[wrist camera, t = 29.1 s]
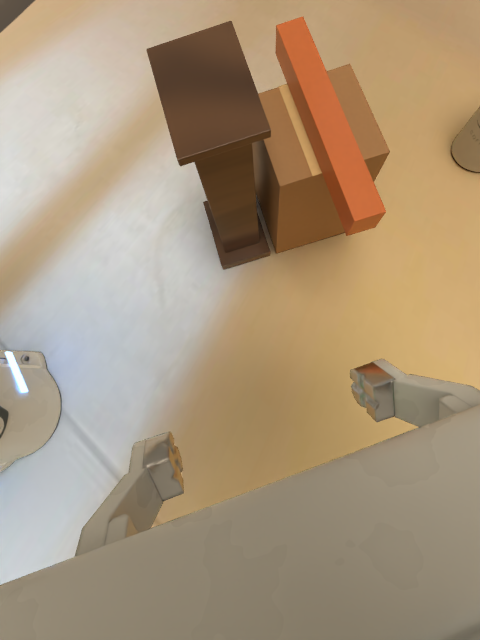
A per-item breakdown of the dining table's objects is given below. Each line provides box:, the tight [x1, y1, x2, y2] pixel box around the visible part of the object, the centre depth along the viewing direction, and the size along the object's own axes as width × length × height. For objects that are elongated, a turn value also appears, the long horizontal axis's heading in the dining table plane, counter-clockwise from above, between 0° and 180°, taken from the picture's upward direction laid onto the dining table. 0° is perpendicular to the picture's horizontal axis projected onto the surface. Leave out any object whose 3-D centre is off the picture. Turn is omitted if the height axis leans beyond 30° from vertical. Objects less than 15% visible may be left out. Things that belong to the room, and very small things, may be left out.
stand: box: [147, 21, 271, 270], centre depth 39 cm, size 12×8×26 cm, turn 16°
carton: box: [252, 64, 390, 253], centre depth 43 cm, size 12×12×18 cm
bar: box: [276, 17, 386, 236], centre depth 32 cm, size 24×3×3 cm, turn 16°
